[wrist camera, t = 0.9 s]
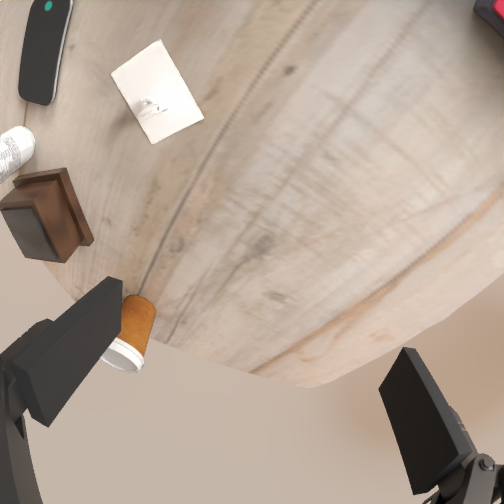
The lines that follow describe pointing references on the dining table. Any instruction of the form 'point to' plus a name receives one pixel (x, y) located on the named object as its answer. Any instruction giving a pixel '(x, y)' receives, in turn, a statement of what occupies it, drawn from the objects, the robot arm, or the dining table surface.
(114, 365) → the disposable coffee cup
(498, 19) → the red white flat box
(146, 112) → the adhesive hook
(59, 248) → the stand
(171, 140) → the dining table surface
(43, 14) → the smartphone
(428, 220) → the dining table surface
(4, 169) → the energy drink can
